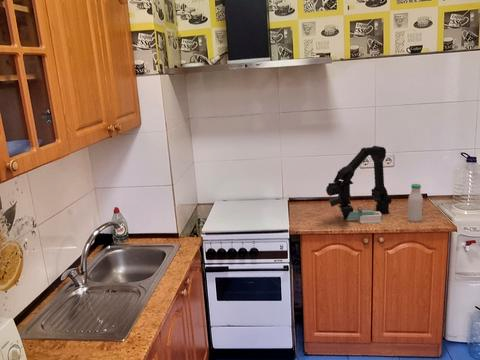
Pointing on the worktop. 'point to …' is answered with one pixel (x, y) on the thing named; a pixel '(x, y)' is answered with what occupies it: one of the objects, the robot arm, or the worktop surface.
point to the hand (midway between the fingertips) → (344, 219)
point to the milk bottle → (415, 204)
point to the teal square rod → (356, 214)
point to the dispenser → (371, 217)
